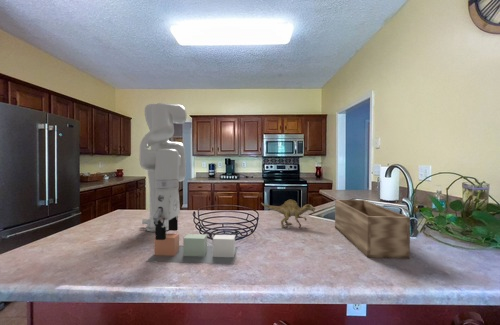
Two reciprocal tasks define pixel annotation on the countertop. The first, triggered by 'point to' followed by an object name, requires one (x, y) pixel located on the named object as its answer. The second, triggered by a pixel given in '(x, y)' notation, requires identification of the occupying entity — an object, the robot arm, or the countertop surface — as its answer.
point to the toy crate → (373, 229)
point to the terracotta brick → (167, 245)
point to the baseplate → (193, 257)
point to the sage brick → (195, 245)
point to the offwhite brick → (224, 246)
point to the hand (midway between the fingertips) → (167, 234)
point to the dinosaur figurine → (290, 210)
